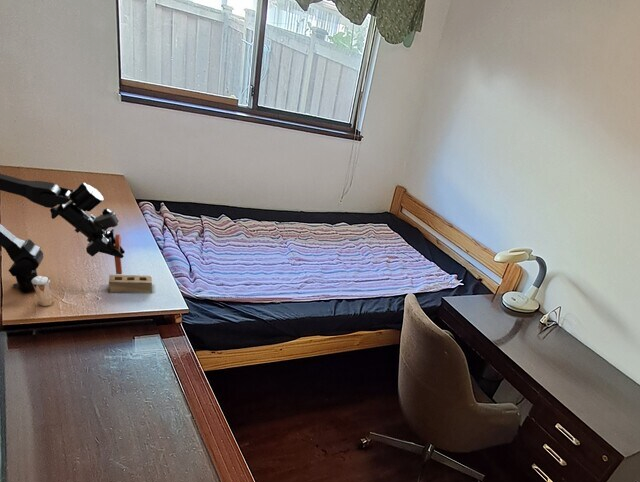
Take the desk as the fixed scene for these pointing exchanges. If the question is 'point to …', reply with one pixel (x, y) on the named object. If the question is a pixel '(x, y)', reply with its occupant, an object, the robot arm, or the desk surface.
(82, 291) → the desk surface
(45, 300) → the milkshake
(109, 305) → the desk surface
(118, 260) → the orange piece
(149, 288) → the utensil rack
